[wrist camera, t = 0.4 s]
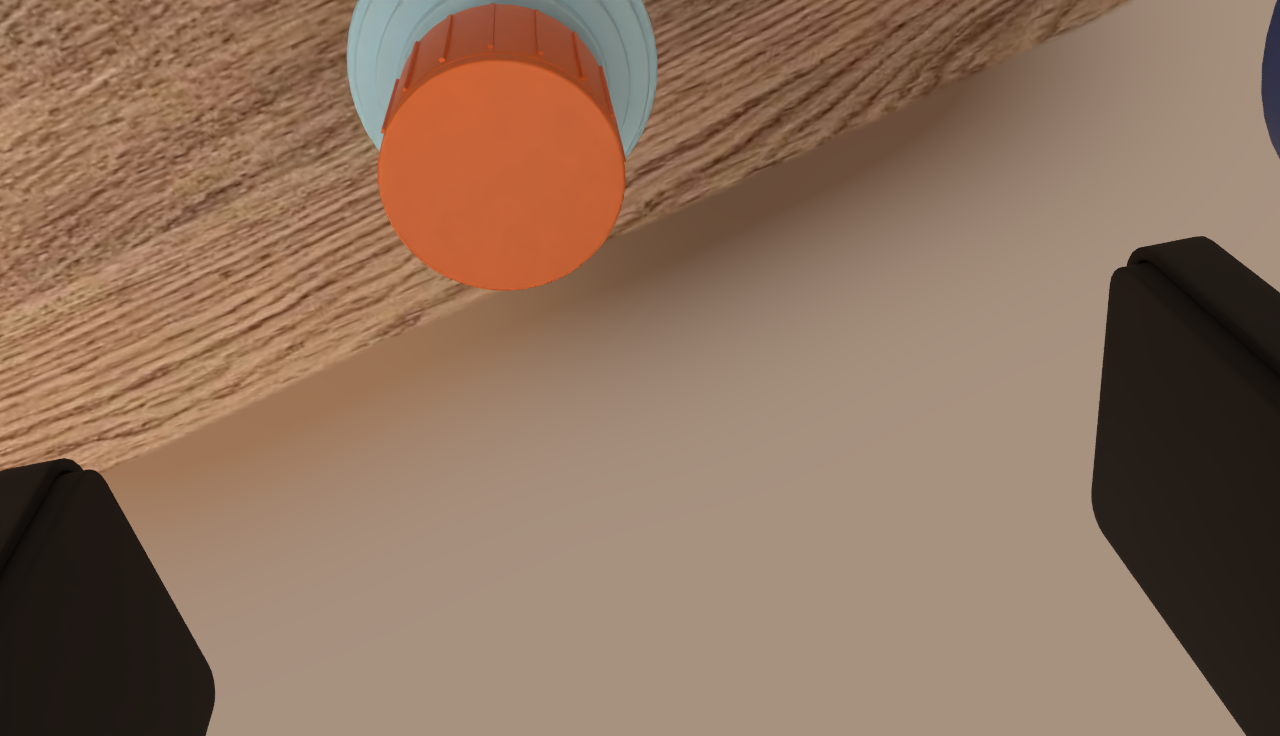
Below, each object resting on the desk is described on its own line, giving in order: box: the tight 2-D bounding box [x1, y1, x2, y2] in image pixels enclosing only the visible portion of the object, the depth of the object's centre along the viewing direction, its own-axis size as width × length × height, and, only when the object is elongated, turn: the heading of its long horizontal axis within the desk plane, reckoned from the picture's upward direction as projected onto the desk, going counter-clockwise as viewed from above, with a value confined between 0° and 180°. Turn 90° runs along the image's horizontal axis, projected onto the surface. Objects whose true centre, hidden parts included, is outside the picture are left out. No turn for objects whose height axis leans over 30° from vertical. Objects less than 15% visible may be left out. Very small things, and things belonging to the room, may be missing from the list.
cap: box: [378, 3, 626, 290], centre depth 19 cm, size 4×4×4 cm
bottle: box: [347, 0, 658, 158], centre depth 26 cm, size 7×7×18 cm
